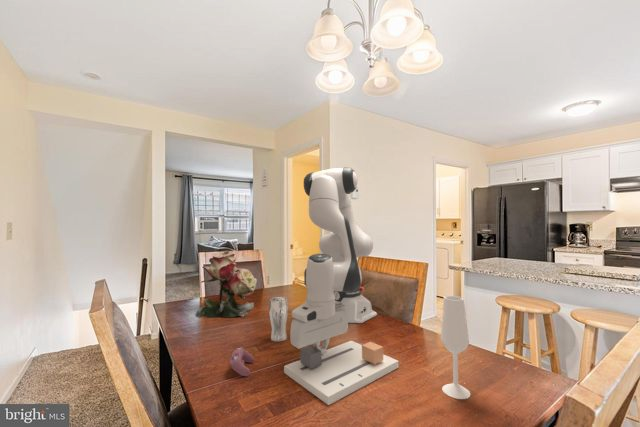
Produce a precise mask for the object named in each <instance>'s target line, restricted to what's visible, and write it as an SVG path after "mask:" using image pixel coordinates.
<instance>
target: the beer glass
mask: <svg viewBox="0 0 640 427" xmlns="http://www.w3.org/2000/svg"><path fill="white" fill-rule="evenodd" d="M268 309H269V311H268V312H269V319H270V325H271V326H270V327H271V334H270V341H272V342H278V343H279V342H283V341H285V340H287V338H288V336H287V328H286V327H287V320H288V313H289V312H288V309H289V306H288V297H285V296H274V297H272V298H269V308H268Z"/></svg>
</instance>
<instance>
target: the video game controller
mask: <svg viewBox="0 0 640 427" xmlns="http://www.w3.org/2000/svg"><path fill="white" fill-rule="evenodd" d="M254 361H255V358H254V356H253V355H252V354H251V353H249V352H248V351H247V350H245V348H243V347H242V346H240V347H238V348H236V349H234V350H233V352H232V354H231V359H230V362H229V364H230V367H231V368H232V370H233V371H235V372H236V373H237V374H238V375H241V376H242V377H249V376H250V375H251V371H250V369H249V368H248V367H247V366H245V362H246V363H251V364H252V363H254Z"/></svg>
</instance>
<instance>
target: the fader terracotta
mask: <svg viewBox="0 0 640 427" xmlns="http://www.w3.org/2000/svg"><path fill="white" fill-rule="evenodd" d="M361 345H362V359H364V360H366V361H368V362H370V363H372V364H377V363H379V362H381V361H383V354H384V346H382V345H379V344H376V343H375V342H373V341H369V342H366V343H363V344H361Z"/></svg>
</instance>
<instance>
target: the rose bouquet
mask: <svg viewBox="0 0 640 427" xmlns="http://www.w3.org/2000/svg"><path fill="white" fill-rule="evenodd" d="M236 260H237V256H236V254H235V253H233V251H231V250H230V251H229V250H225V251H224V252H222V253H219V254H218V255H217V256H215V255H213V256H212V257H210V258H209V259H208V261H209V263H210V264H209V265H207V266H201V268H202V269H203V270H205V271H206V272H207V274H208V275H209V277H211V278H209V279H204V280H202V281H201V282H200V283H208V282H209V283H210V282H211V283H212V282H216V281H219V282H218V285H219V298H218V299H219V301H214V300H211V299H209V298H205V299H204V300H203V301H204V302H205V305H203V306H201V307H200V308H199V309H198V310H196V314H195V317H197V318H207V319H211V318H212V319H213V318H214V319H215V318H217V319H219V318H237V317H244V318H245V316H246V315H249V313H248V311H252V310H253V309H254V308H255V302H253V301H252V302H248V301H246V302H245V304H243V305H242V303H240V304H241V305H237V304H238V303H237V301H236V299H235V295H237V297H238V298H240V299H241V300H242V299H243V300H245V299H246V297H249V296H251V295H253V294H254V291H255V289H256V287H257V282H258V278H255V277H254V274H253V273H252V272H251V271H250V270H249V269H247V268H244V267H243V268H239V267H237V263H238V262H237V261H236ZM224 296H225V298H226V299H225V300H223V297H224ZM240 312H243V313H240Z"/></svg>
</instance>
